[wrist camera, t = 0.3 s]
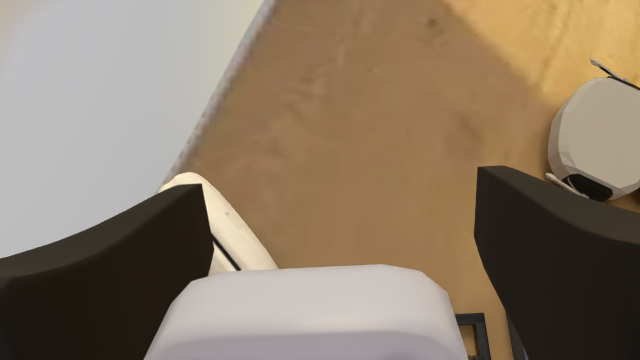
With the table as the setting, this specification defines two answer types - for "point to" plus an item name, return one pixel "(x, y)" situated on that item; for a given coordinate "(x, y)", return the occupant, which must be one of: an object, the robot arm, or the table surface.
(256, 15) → the table surface
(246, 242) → the photo printer
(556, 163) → the robot toy
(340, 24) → the table surface
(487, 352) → the rack
